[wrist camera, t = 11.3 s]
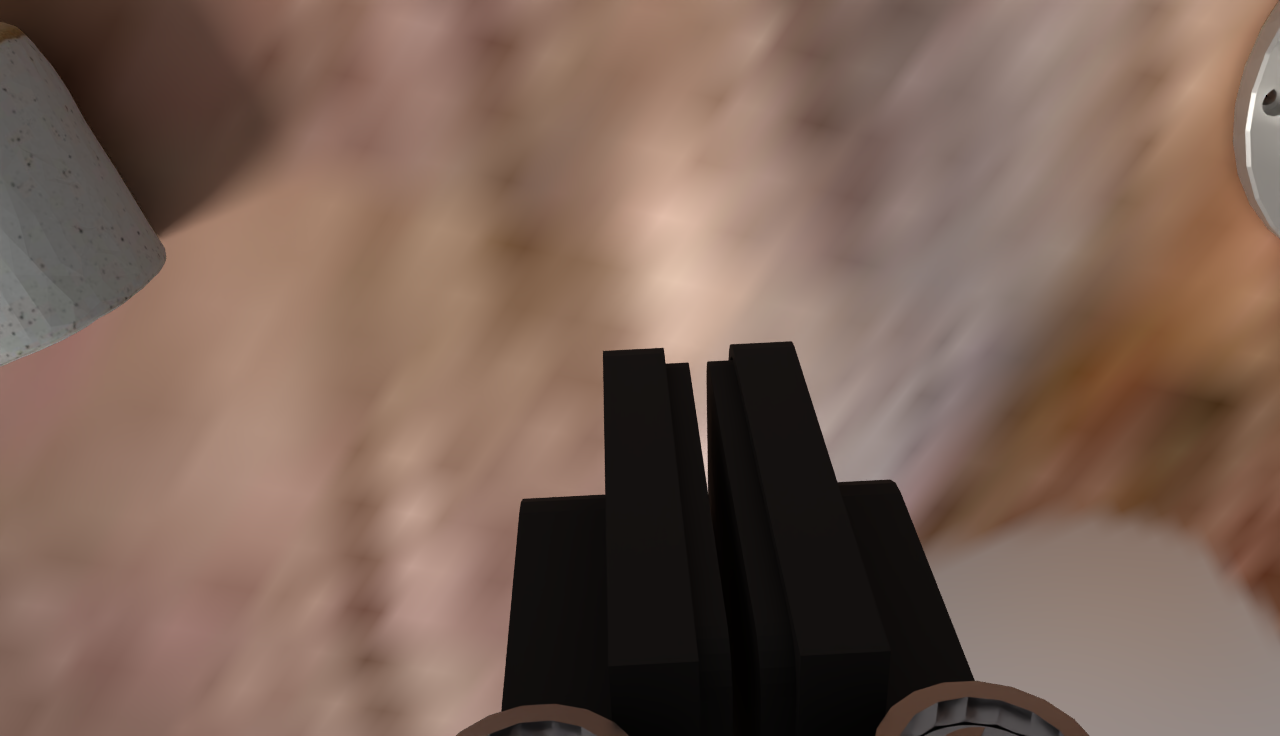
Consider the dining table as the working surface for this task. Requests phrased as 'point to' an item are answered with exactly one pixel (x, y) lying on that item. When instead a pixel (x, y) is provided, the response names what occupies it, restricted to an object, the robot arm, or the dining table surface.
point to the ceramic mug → (59, 212)
